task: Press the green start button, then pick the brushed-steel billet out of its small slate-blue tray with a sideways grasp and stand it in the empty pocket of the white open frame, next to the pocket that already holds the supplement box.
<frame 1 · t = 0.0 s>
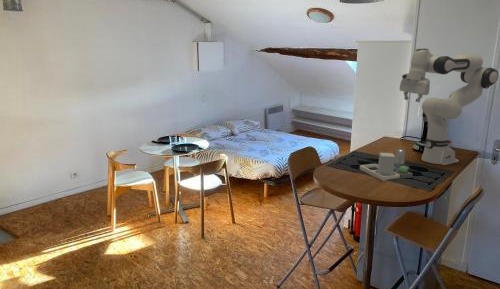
hand: (411, 100, 227), 39 cm above the breakfast bar, tool pointing down, fingers open, 8 cm apart
supplement box: (384, 176, 214), resting in white open frame
button housing: (402, 177, 214), on the breakfast bar
tray: (398, 169, 228), on the breakfast bar
white open frame: (379, 174, 218), on the breakfast bar
start button: (403, 170, 213), point 4 cm above the breakfast bar, slide at 0.0 cm
billet: (398, 167, 227), point 1 cm above the breakfast bar, touching tray
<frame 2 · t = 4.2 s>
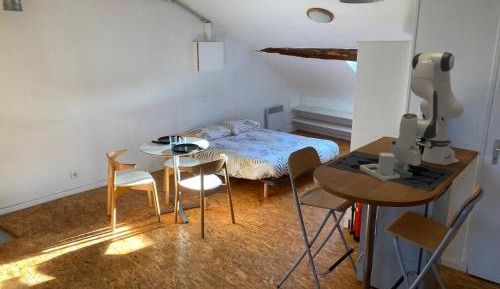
hand: (403, 168, 212), 5 cm above the breakfast bar, tool pointing down, fingers closed
start button: (403, 172, 213), point 3 cm above the breakfast bar, slide at 1.1 cm
everything else where it was.
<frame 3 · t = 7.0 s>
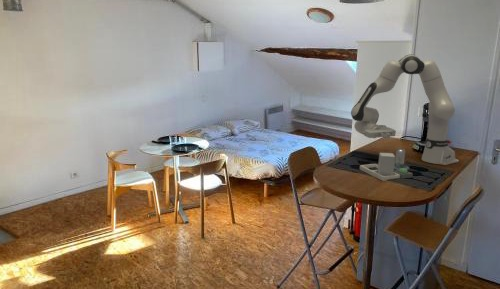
hand: (388, 136, 234), 17 cm above the breakfast bar, tool horizontal, fingers closed
nothing on the breakfast bar moved.
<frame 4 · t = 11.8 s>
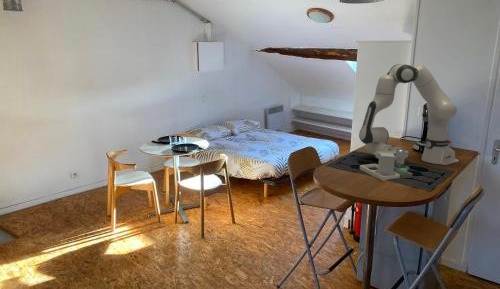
hand: (401, 158, 225), 7 cm above the breakfast bar, tool horizontal, fingers closed on billet, 5 cm apart
billet: (398, 167, 227), point 1 cm above the breakfast bar, touching gripper, tray
everything else where it was.
when the fingers open (8 cm above the breakfast bar, at t = 17.1 s): billet stays where it is, resting in white open frame.
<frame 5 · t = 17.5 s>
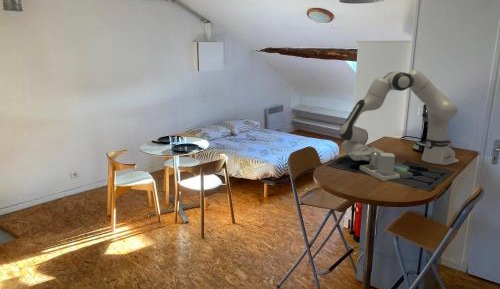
hand: (375, 158, 220), 8 cm above the breakfast bar, tool horizontal, fingers open, 8 cm apart
billet: (373, 171, 223), resting in white open frame
everything else where it was.
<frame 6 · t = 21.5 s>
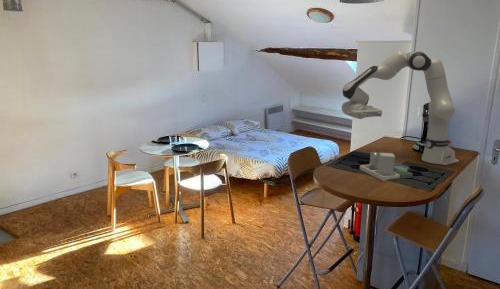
hand: (373, 115, 228), 30 cm above the breakfast bar, tool horizontal, fingers open, 8 cm apart
nothing on the breakfast bar moved.
at the end: billet inside the target area (0.1 cm from its centre), resting in white open frame; billet tilted 0°; start button slide at 1.2 cm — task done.
